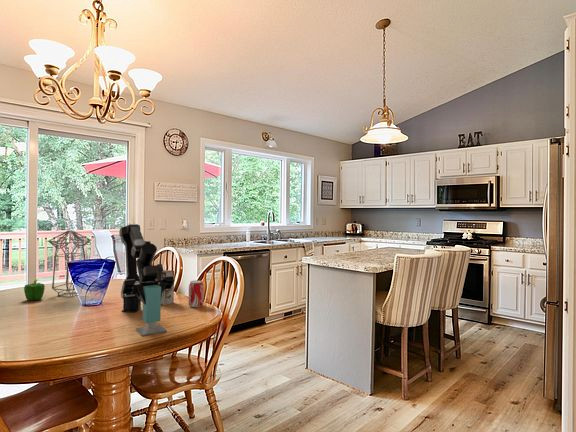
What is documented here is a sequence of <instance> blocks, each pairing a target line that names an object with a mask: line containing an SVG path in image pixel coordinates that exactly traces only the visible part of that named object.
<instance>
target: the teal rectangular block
mask: <svg viewBox="0 0 576 432" xmlns="http://www.w3.org/2000/svg"><path fill="white" fill-rule="evenodd" d="M143 293H144V296H145V300H146V304H145V305H144V304H143V303H142V321H143V322H144V324H147V323H153V322H156V323H157V322H158V323H159V322H161V315H162V314H161V311H162V310H161V305H162V304H161V287H160V286H158V285H150V286H143Z"/></svg>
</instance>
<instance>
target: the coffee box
mask: <svg viewBox="0 0 576 432" xmlns="http://www.w3.org/2000/svg"><path fill="white" fill-rule="evenodd" d="M157 276H158V277H157V279H156V280H157V281H159V280H162V279H163V277H164V276H173V277H174V278H175V271H174V270H167V269H163V272H162V273H159V274H157ZM172 303H173V304H174V303H175V282H174V283H173V286H172V288H171V289H165V290H164V291H162V298H161V305H164V306H165V305H169V304H172Z"/></svg>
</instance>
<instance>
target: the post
mask: <svg viewBox="0 0 576 432" xmlns="http://www.w3.org/2000/svg"><path fill="white" fill-rule="evenodd" d="M156 325H157V322H153V323H146V326H147V330H148V331H150V330H156Z"/></svg>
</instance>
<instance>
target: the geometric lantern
mask: <svg viewBox="0 0 576 432" xmlns="http://www.w3.org/2000/svg"><path fill="white" fill-rule="evenodd" d="M68 235H69V237H68ZM59 237H60V238H59ZM81 237H82V238H84V239H82V238H81ZM57 238H58V239H57ZM55 239H57V240H55ZM67 240H69V241H68V242H67ZM91 241H92V239H90V238H89V237H87V236H84V235H82V234H80V233H78V232H76V231H74V230H73V229H72V230H71V229H69V230H66V231H64V232H62V233H61V234H59V235H57V236H55V237H53V238H51V239H48V240H47V241H46V242H47V243H49V244H50V245H52V246H53V247H55V252H54V256H53V270H52V271H53V272H52V273H53V275H52V283H51V284H52V285H51V289H52V290H53V291H55V292H56V293H57V297H58V298H59V297H62V298H73V297H76V296H77V294H76V290H75V284H74V285H73V283H72V280H71V279H70V280H71V282H70V283H69V273H70V272H69V270H68V265H67V263H68V262H69V263H70V262H71V261H73V262H74V258H77V257H82V256H83V261H84V260H85V261H86V250H85V248H84V247H85V246H86V245H87V244H89V243H90V242H91ZM69 244H73V245H74V246H75V247H74V248H73V250H72V251H71V252H69V250H68V249H67V248H66V246H68V245H69ZM76 248H77V249H76ZM80 248H82V253H77V251H79V249H80ZM60 249H61V250H62V252H63V253H60V254H59V253H58V252H59V250H60ZM64 249H65V250H66V251H67V252H66V251H65V250H64ZM74 251H75V252H74ZM65 255H66V256H65ZM69 255H70V256H69ZM57 258H67V259H66V275H65V283H63V284H60V285H56V286H55V273H56V263H57V262H56V261H57ZM69 258H71V261H70V260H69ZM62 286H65V287H66V289H64V288H59V287H62ZM64 291H66V292H64ZM71 291H72V292H71ZM66 294H68V295H69V296H67V295H66Z"/></svg>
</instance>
